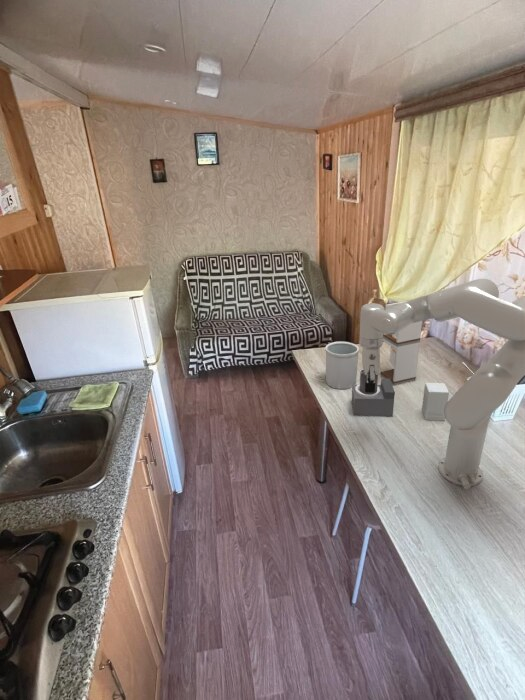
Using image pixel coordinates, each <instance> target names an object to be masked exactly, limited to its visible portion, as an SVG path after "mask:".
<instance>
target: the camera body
mask: <svg viewBox="0 0 525 700" xmlns="http://www.w3.org/2000/svg"><path fill="white" fill-rule="evenodd" d="M395 393H396V391H395V388H394V386H393V385H392V383H391V380H390V379H389V378H383V377H382V378H381V379H380V384H378V385H377V393H375V394H372V395H366V394H363V393H361V392H360V383H359V384H355V385H352V387H351V405H352V406H351V407H352V412H353V416H354V417H394V416H393V415H394V408H395V407H394V406H395Z"/></svg>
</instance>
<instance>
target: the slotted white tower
mask: <svg viewBox="0 0 525 700" xmlns="http://www.w3.org/2000/svg"><path fill="white" fill-rule="evenodd" d="M406 301H407V300H406ZM406 301H401V302H400V301H399V302H395V303H390V304H389V303H388V304H387V303H386V304H385V306H384V309H385V310H388V309H390V308H392V307H394V306H396V305H398V304H400V303H403V302H406ZM422 326H423V321H419V322H416V323H412V324H410V325H408V326H406V327H405V328H403V329H402V330H400V331H399V332H397V333H396V334H393V335H388V334H385V333H383V343H385V344H387V346H390V353H389V362H390V364H391V366H392V367H393V368H391V369H386V370H383V371H380V374H379V375H380V377H382V378H389V379H390V380H391V383H392V386H393V387H394V386H395V387H396V386H399V385H403V384H408V383H411V381H412V382H415V381H417V380H416V378H417V370H418V361H419V354H420V353H419V352H420V345H421V335H422V328H423V327H422ZM407 382H408V383H407Z"/></svg>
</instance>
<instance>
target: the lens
mask: <svg viewBox="0 0 525 700" xmlns="http://www.w3.org/2000/svg"><path fill="white" fill-rule="evenodd" d="M368 374H370V372H368ZM369 378H370V376H368V379H369ZM378 381H379V375H376V373H375V392H374V393H366V392H365V382H366V375H365V373H364V369H362V370H361V371H359V384H360V392H361V393H363V394H366V395H372V394H375V393H377V385H379V384H378Z"/></svg>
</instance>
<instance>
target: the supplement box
mask: <svg viewBox="0 0 525 700" xmlns="http://www.w3.org/2000/svg"><path fill="white" fill-rule="evenodd" d="M423 389H424V390H423V397H422V398H423V399H422V406H421V412H422V415H423V417H424V420H427V421H428V420H429V421H438V422H439V421H443V422H444V421H445V420H446V418H445V415H444V408H445V405H446V403H447V402H448V401H449V395H450V392H449V389H448V387H447V386H446V383H443V382H425V383H424V388H423Z"/></svg>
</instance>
